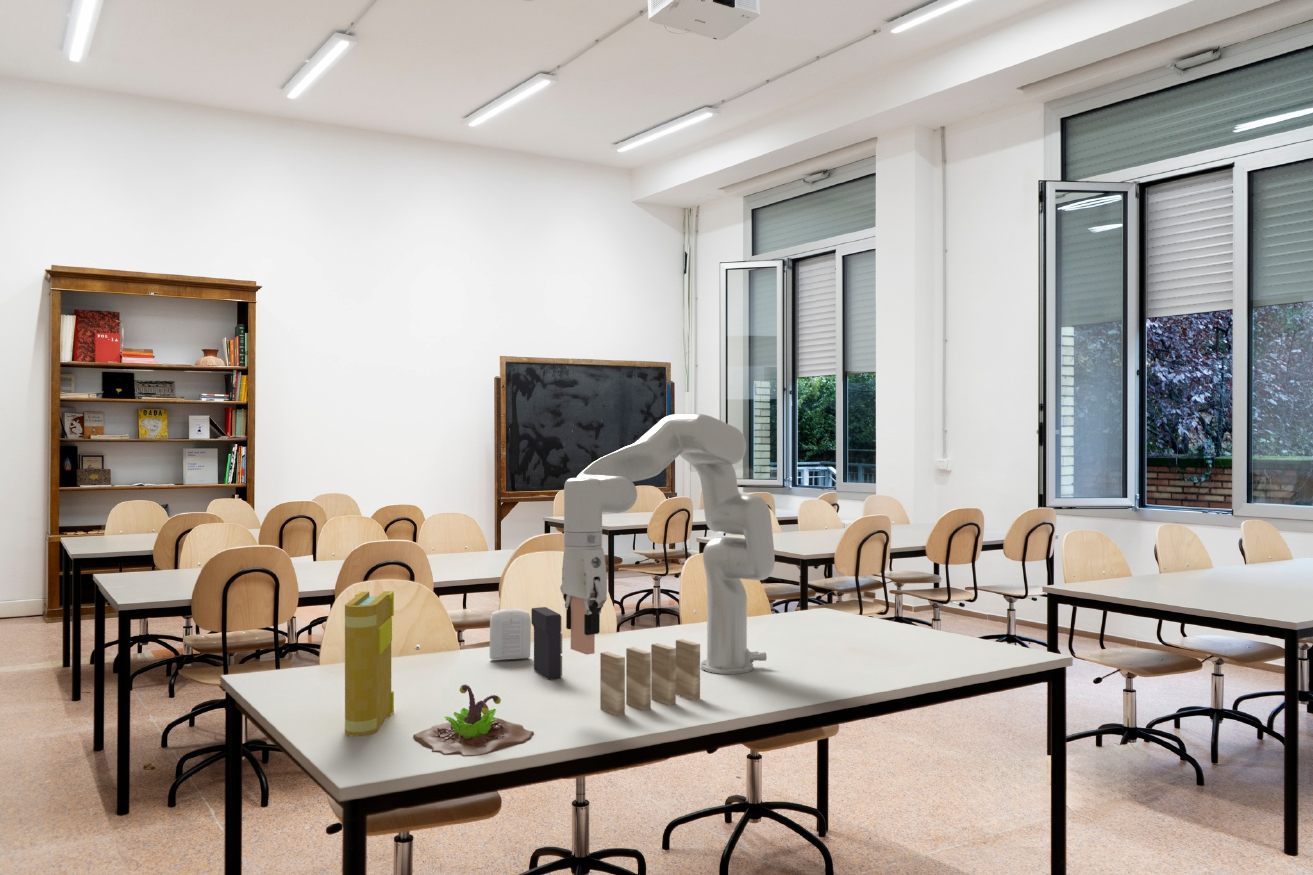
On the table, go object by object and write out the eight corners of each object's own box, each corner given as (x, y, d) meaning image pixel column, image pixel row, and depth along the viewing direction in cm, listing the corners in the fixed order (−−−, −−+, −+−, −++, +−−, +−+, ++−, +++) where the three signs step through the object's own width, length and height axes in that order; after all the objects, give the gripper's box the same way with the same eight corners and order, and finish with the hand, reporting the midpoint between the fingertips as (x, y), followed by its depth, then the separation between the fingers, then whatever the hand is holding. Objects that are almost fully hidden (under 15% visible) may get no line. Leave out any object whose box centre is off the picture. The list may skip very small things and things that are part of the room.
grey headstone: (529, 654, 248) (529, 606, 248) (531, 658, 243) (531, 609, 243) (489, 656, 245) (489, 608, 245) (490, 660, 241) (490, 611, 241)
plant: (483, 723, 191) (483, 666, 191) (549, 745, 178) (549, 684, 177) (395, 748, 176) (394, 687, 176) (460, 774, 163) (460, 708, 163)
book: (359, 715, 195) (359, 591, 194) (393, 714, 195) (393, 591, 195) (339, 742, 178) (339, 606, 178) (376, 741, 178) (376, 606, 178)
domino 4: (658, 699, 205) (658, 643, 205) (675, 706, 200) (675, 648, 200) (651, 701, 204) (651, 644, 204) (668, 707, 199) (668, 649, 199)
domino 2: (607, 710, 197) (607, 651, 197) (624, 717, 192) (624, 657, 192) (600, 711, 196) (600, 652, 196) (617, 718, 191) (617, 658, 191)
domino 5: (682, 694, 209) (682, 639, 209) (700, 700, 204) (700, 643, 204) (675, 695, 208) (675, 640, 208) (693, 702, 203) (693, 645, 203)
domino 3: (633, 704, 201) (633, 647, 201) (650, 711, 196) (650, 652, 196) (626, 706, 200) (626, 648, 200) (643, 713, 195) (643, 653, 195)
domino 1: (578, 647, 194) (578, 588, 194) (594, 653, 190) (594, 592, 190) (570, 648, 193) (570, 588, 193) (586, 654, 189) (586, 593, 188)
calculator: (564, 678, 224) (564, 614, 224) (546, 681, 222) (546, 615, 222) (548, 668, 234) (548, 606, 233) (531, 670, 232) (531, 607, 232)
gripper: (623, 543, 187) (623, 636, 187) (576, 535, 201) (575, 622, 201) (590, 545, 182) (590, 641, 182) (544, 537, 196) (544, 626, 196)
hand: (582, 630), depth 191 cm, fingers closed on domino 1, 5 cm apart
